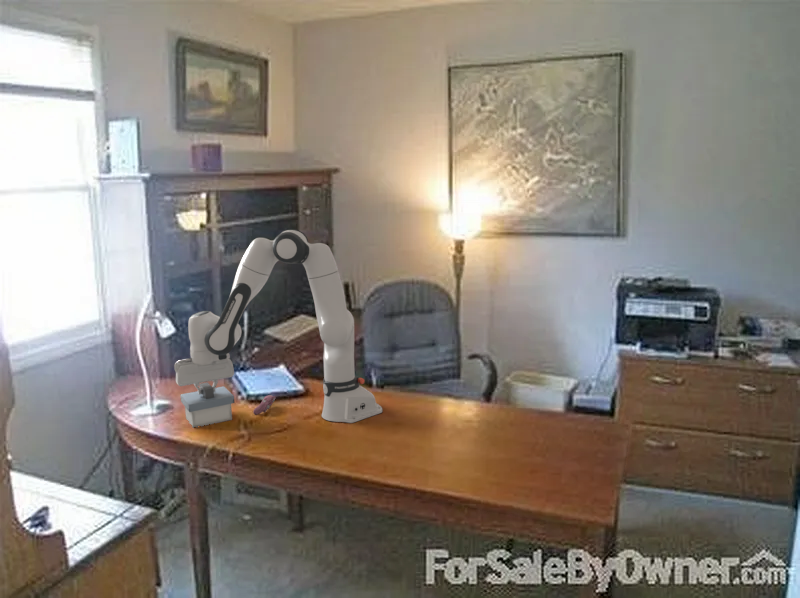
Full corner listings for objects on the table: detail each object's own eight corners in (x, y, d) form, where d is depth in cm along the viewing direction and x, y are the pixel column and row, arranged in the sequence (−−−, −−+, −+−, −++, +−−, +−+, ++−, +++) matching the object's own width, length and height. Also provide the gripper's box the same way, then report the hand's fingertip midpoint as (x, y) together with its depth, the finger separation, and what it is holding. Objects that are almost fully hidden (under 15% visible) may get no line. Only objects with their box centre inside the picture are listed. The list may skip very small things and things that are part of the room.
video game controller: (262, 419, 237) (269, 403, 235) (251, 413, 237) (258, 398, 235) (272, 409, 246) (279, 394, 244) (262, 404, 246) (268, 389, 245)
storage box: (223, 410, 242) (222, 390, 241) (232, 419, 233) (230, 398, 231) (185, 418, 235) (184, 397, 234) (193, 428, 226) (191, 406, 224)
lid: (224, 393, 242) (223, 377, 241) (234, 402, 231) (233, 386, 230) (181, 401, 234) (179, 385, 233) (189, 412, 223) (187, 395, 222)
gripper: (175, 363, 221) (179, 401, 224) (233, 353, 232) (236, 389, 234) (171, 358, 227) (175, 395, 229) (228, 349, 237) (231, 385, 240)
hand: (206, 392), depth 232 cm, fingers closed on lid, 3 cm apart
